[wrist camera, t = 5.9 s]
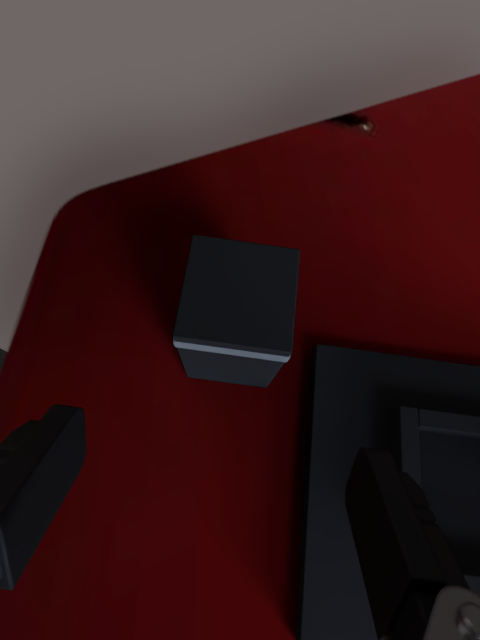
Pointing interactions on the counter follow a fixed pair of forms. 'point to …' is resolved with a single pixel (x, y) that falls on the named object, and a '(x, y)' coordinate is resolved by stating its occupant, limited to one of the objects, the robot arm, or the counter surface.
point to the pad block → (236, 310)
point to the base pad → (409, 456)
